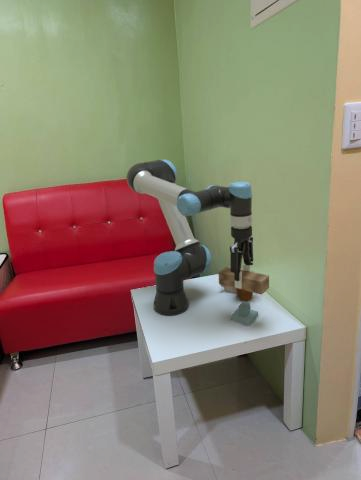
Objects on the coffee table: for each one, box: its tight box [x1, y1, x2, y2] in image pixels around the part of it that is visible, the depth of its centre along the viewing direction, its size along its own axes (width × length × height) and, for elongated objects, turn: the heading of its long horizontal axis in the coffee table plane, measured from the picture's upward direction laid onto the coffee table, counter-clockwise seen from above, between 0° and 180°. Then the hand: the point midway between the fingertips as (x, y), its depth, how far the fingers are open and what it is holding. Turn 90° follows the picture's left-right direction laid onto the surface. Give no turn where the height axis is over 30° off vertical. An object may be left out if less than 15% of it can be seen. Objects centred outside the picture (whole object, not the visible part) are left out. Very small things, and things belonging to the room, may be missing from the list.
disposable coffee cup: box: [236, 268, 256, 302], centre depth 152 cm, size 10×10×12 cm
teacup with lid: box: [219, 266, 237, 294], centre depth 160 cm, size 12×9×12 cm
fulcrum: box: [230, 301, 259, 327], centre depth 138 cm, size 8×8×6 cm
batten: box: [217, 266, 270, 295], centre depth 132 cm, size 18×6×5 cm, turn 52°
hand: (242, 284), depth 133 cm, fingers closed on batten, 6 cm apart
